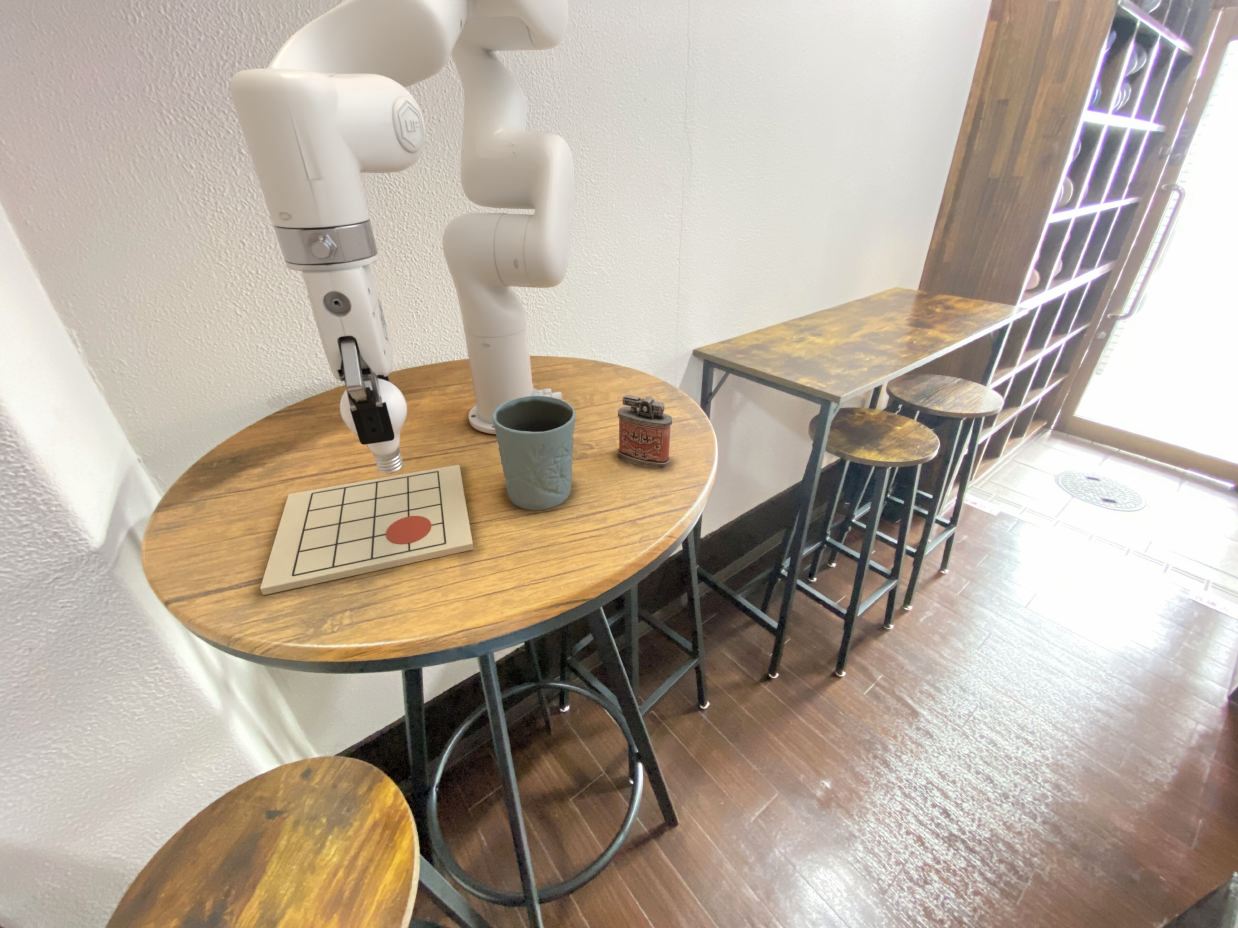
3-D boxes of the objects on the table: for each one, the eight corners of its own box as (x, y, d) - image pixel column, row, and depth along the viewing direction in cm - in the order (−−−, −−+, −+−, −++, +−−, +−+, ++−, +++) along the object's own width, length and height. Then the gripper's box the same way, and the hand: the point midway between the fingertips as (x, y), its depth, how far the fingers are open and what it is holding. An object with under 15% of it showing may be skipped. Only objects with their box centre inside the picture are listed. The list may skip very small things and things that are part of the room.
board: (460, 469, 77) (459, 463, 76) (473, 549, 63) (472, 542, 62) (290, 499, 71) (288, 493, 70) (263, 595, 57) (259, 588, 56)
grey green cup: (496, 479, 75) (484, 402, 68) (565, 464, 78) (560, 389, 72) (514, 522, 67) (502, 439, 60) (589, 502, 70) (586, 422, 64)
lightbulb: (386, 494, 56) (358, 399, 50) (349, 476, 59) (318, 384, 53) (433, 466, 60) (413, 376, 54) (396, 451, 63) (373, 363, 57)
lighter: (672, 459, 79) (676, 398, 74) (664, 471, 76) (668, 409, 71) (623, 448, 82) (623, 388, 77) (614, 458, 79) (613, 397, 74)
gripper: (370, 262, 41) (418, 460, 50) (378, 227, 55) (415, 387, 64) (260, 270, 39) (332, 474, 48) (297, 231, 53) (347, 396, 62)
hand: (379, 423), depth 56 cm, fingers closed on lightbulb, 6 cm apart
